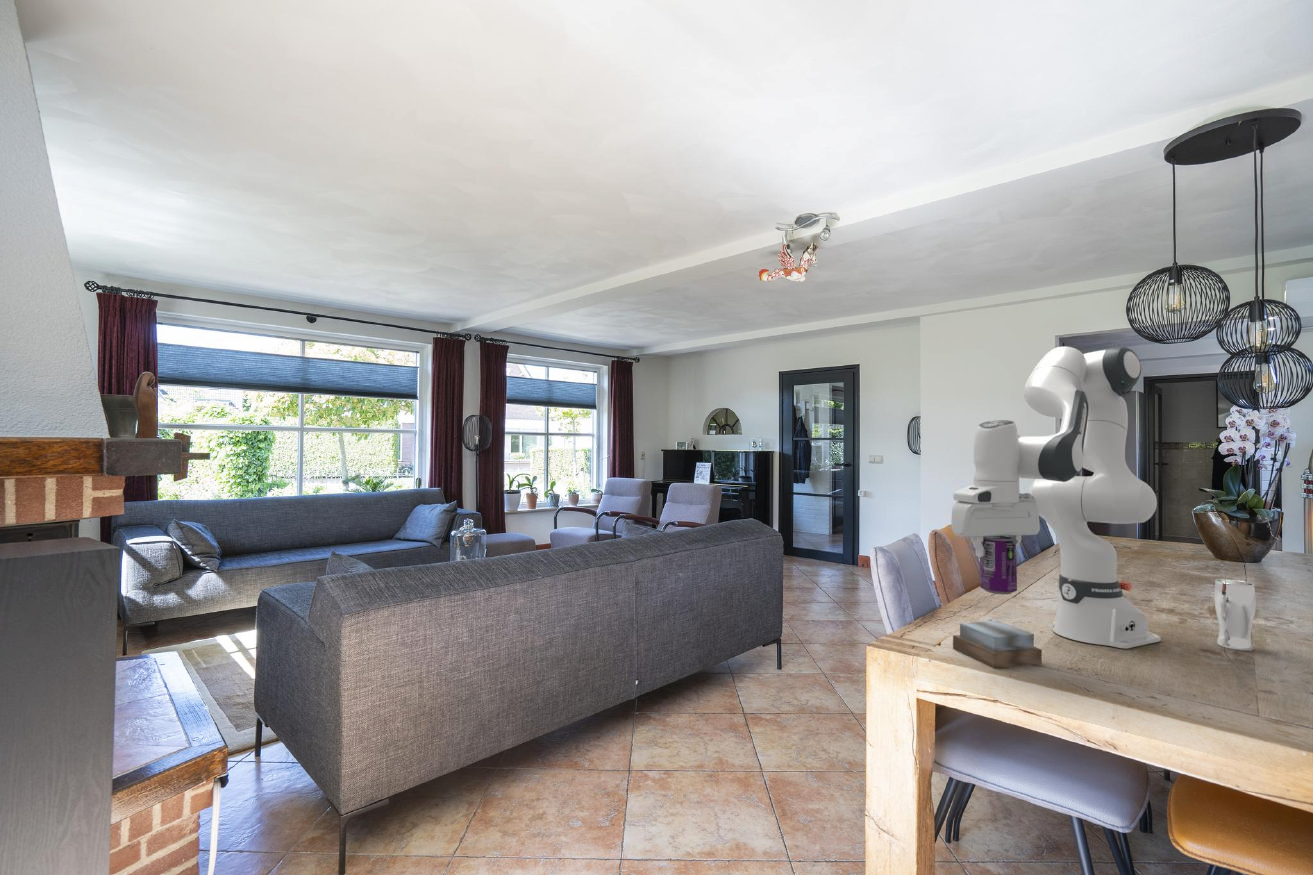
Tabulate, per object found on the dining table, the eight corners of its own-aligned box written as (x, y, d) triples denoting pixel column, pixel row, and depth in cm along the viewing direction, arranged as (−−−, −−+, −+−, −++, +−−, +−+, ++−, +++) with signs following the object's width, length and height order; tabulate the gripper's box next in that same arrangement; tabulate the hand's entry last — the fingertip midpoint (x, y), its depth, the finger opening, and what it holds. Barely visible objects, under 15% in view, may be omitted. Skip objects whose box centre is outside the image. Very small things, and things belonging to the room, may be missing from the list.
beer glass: (1247, 644, 140) (1247, 580, 140) (1262, 653, 133) (1262, 586, 134) (1208, 639, 143) (1208, 577, 143) (1221, 648, 136) (1221, 583, 136)
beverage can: (1022, 596, 126) (1021, 540, 127) (985, 594, 128) (985, 539, 128) (1010, 588, 133) (1009, 535, 134) (975, 587, 135) (975, 534, 135)
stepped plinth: (997, 644, 138) (997, 619, 138) (1041, 663, 126) (1041, 635, 126) (953, 648, 135) (953, 622, 135) (993, 667, 124) (993, 639, 124)
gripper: (1023, 491, 137) (1023, 551, 136) (946, 492, 132) (946, 554, 132) (1047, 494, 130) (1047, 557, 130) (967, 495, 126) (967, 560, 126)
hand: (996, 556), depth 131 cm, fingers closed on beverage can, 6 cm apart
